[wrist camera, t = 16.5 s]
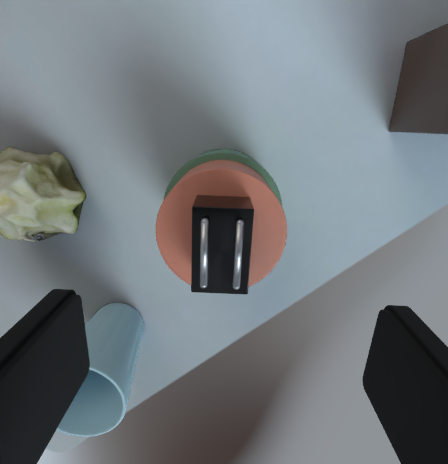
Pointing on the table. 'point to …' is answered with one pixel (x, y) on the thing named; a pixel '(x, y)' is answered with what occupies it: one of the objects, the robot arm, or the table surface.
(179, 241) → the cup stack
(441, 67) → the clip stand
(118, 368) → the cup
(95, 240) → the table surface
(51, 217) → the fruit
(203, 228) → the clip
